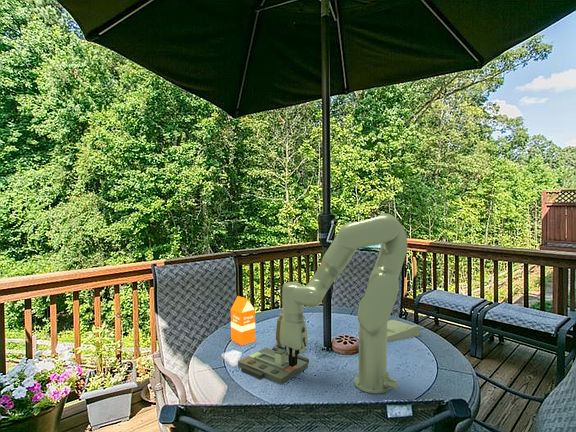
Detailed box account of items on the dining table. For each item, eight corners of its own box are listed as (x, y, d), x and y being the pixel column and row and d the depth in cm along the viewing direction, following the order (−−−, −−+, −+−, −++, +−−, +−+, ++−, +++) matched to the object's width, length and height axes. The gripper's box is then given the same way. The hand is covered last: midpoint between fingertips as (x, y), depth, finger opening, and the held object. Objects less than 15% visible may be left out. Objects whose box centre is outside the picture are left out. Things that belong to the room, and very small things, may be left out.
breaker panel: (307, 367, 138) (307, 360, 138) (281, 384, 126) (281, 376, 125) (265, 352, 152) (265, 345, 152) (238, 366, 139) (237, 359, 139)
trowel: (365, 344, 160) (365, 332, 160) (356, 331, 176) (356, 320, 176) (426, 342, 161) (426, 331, 161) (412, 329, 177) (412, 319, 177)
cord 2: (308, 362, 142) (308, 358, 142) (306, 364, 141) (306, 360, 140) (274, 350, 153) (274, 347, 153) (272, 352, 152) (272, 348, 152)
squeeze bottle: (291, 350, 154) (291, 309, 153) (273, 348, 155) (273, 307, 154) (295, 342, 161) (295, 303, 161) (277, 341, 163) (277, 302, 162)
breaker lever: (286, 363, 136) (285, 351, 136) (280, 366, 134) (280, 353, 134) (280, 361, 138) (279, 349, 138) (274, 364, 136) (274, 351, 136)
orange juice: (241, 345, 159) (240, 301, 158) (230, 339, 166) (230, 297, 165) (255, 340, 164) (255, 297, 163) (244, 335, 171) (244, 293, 170)
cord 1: (263, 377, 130) (263, 373, 130) (260, 379, 129) (260, 375, 129) (244, 369, 137) (244, 365, 137) (241, 371, 135) (241, 367, 135)
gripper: (315, 318, 129) (315, 367, 130) (283, 309, 139) (283, 356, 140) (303, 323, 123) (303, 375, 124) (270, 314, 133) (271, 363, 134)
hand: (293, 365), depth 132 cm, fingers closed
